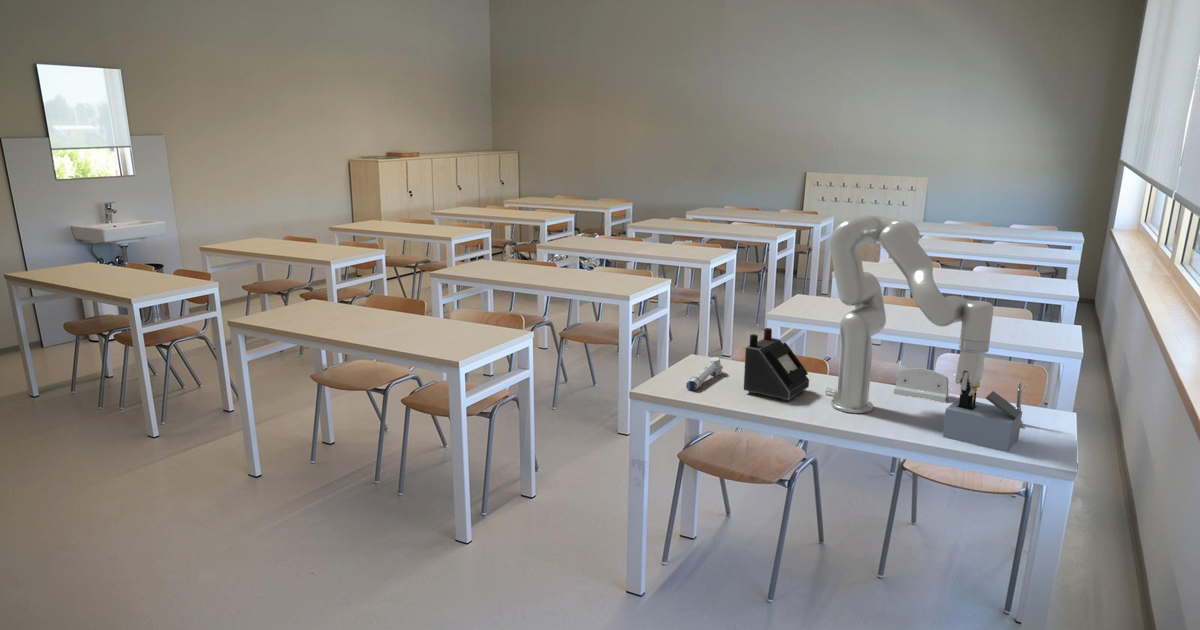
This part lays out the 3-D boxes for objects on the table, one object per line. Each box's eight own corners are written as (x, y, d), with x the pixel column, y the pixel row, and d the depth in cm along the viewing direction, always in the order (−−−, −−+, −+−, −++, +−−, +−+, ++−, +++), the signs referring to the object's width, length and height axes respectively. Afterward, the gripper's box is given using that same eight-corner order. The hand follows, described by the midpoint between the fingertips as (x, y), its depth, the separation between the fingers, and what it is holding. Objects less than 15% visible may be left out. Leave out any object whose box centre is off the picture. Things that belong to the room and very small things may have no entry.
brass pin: (953, 413, 222) (957, 381, 219) (959, 408, 225) (963, 377, 223) (973, 417, 218) (977, 385, 216) (978, 412, 222) (982, 381, 220)
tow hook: (987, 426, 231) (1022, 429, 227) (989, 385, 228) (1025, 387, 225) (984, 417, 238) (1018, 419, 235) (987, 377, 236) (1021, 379, 232)
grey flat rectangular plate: (985, 398, 215) (987, 396, 214) (991, 392, 219) (993, 390, 219) (1014, 420, 211) (1016, 418, 211) (1019, 414, 215) (1021, 412, 215)
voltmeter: (789, 404, 248) (793, 344, 244) (743, 393, 258) (746, 336, 253) (809, 391, 261) (813, 334, 256) (764, 382, 270) (767, 326, 266)
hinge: (892, 393, 258) (897, 364, 259) (894, 394, 262) (899, 365, 263) (946, 402, 250) (950, 372, 250) (947, 403, 254) (952, 373, 254)
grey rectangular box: (942, 436, 221) (945, 408, 220) (955, 425, 230) (958, 398, 228) (1007, 452, 211) (1011, 423, 209) (1018, 439, 220) (1022, 411, 218)
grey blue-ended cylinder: (684, 379, 261) (711, 352, 281) (684, 397, 263) (711, 368, 283) (698, 381, 258) (724, 354, 279) (698, 399, 261) (725, 370, 281)
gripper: (968, 336, 226) (961, 396, 230) (951, 348, 214) (944, 410, 218) (996, 341, 221) (988, 402, 225) (980, 353, 209) (972, 417, 213)
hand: (966, 405), depth 221 cm, fingers closed on brass pin, 2 cm apart
